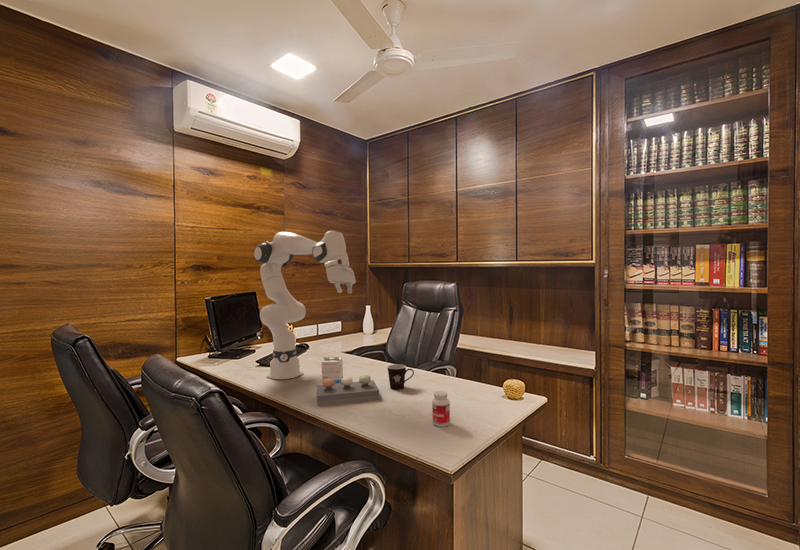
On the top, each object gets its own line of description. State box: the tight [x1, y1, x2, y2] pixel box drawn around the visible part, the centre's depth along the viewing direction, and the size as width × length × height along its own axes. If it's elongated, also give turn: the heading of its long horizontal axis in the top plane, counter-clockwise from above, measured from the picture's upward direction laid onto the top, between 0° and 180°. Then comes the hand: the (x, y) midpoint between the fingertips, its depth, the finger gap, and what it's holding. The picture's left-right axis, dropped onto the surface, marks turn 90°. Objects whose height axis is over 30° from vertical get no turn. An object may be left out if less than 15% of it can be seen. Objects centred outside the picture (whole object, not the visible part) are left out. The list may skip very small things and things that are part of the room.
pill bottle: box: [431, 390, 451, 428], centre depth 132 cm, size 6×6×11 cm
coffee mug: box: [387, 363, 415, 391], centre depth 173 cm, size 12×9×10 cm
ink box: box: [321, 356, 344, 384], centre depth 184 cm, size 9×8×13 cm
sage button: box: [358, 375, 371, 387], centre depth 165 cm, size 5×5×4 cm
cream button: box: [341, 376, 354, 389], centre depth 163 cm, size 5×5×4 cm
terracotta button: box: [321, 379, 334, 391], centre depth 161 cm, size 5×5×4 cm
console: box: [316, 379, 380, 407], centre depth 163 cm, size 15×26×4 cm, turn 103°
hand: (345, 292), depth 170 cm, fingers open, 8 cm apart
